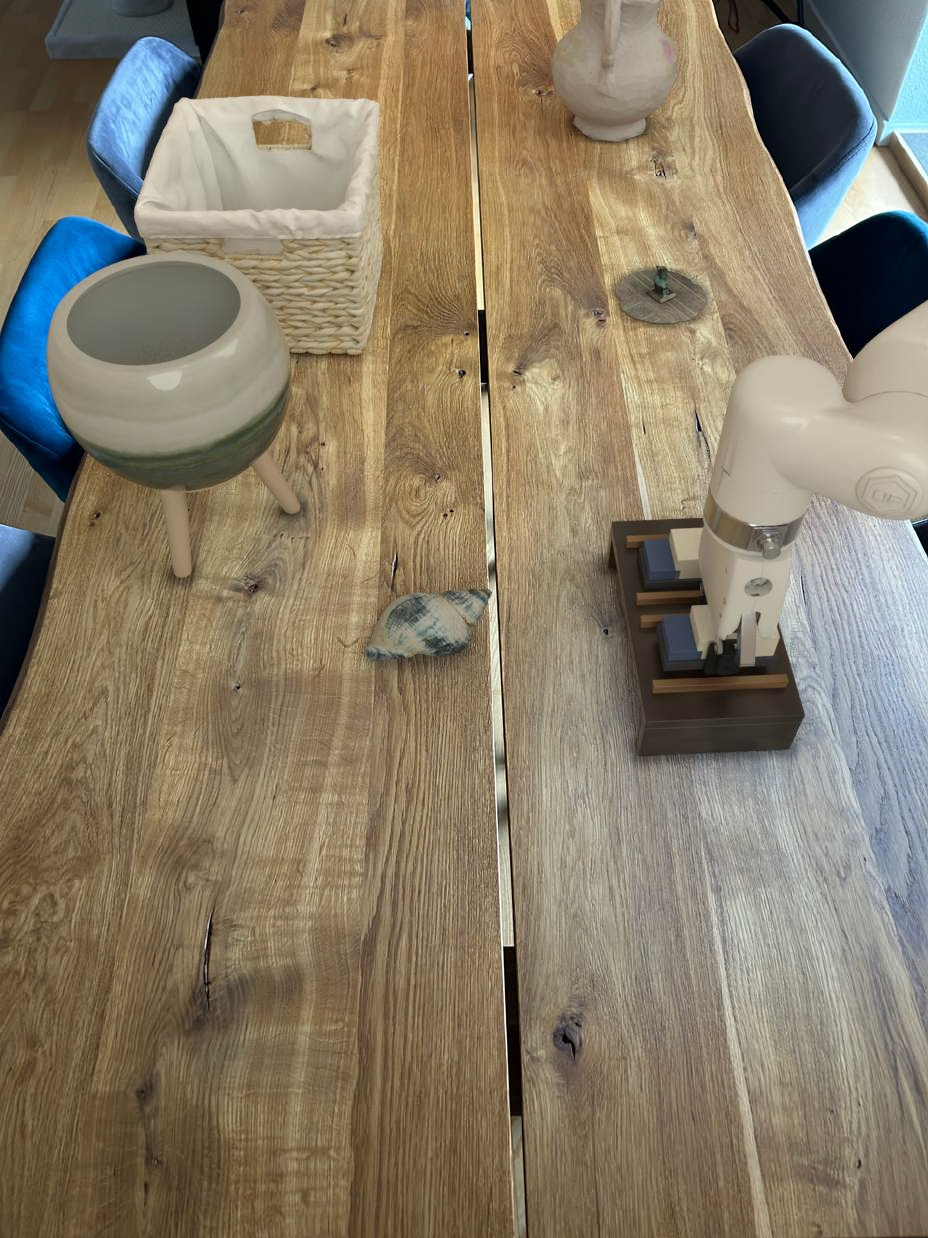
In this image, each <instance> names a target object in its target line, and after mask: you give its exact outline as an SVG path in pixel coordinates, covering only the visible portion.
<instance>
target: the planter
mask: <svg viewBox="0 0 928 1238" xmlns="http://www.w3.org/2000/svg"><path fill="white" fill-rule="evenodd" d="M49 323H50V324H49V328H48V331H47V332H48V333H47V339H46V350H45V351H46V352H45V361H46V363H45V364H46V372H47V373H46V375H47V379H48V384H49V388H50V392H51V396H52V399H53V401H54V404H55V407H56V409H57V411H58V413H59V415H60V418H61V419H62V421H63V423H64V425H65V426H66V429H68V431H69V433H70V434H71V436H72V437H73V438H74V440H75V441H76V443H78V445H79V446H80V447H81V448H82V449H83V450H84V451H85V452H86V453H87V454H88V455H89V456H90V457H92V459H93V460H95V461H96V462H97V463H98V464H100V465H101V466H102V467H103V468H105V469H106V470H108V471H109V472H110V473H113V474H114V475H116V476H118V477H120V478H122V479H124V480H125V481H128V482H129V483H130V482H131V483H133V484H135V485H138V486H141V487H144V488H149V489H152V490H158V491H159V494H160V495H159V496H160V500H161V501H160V502H161V506H162V511H163V517H164V524H165V529H166V535H167V542H168V550H169V554H170V562H171V567H172V571H173V575H175V577H177V578H179V579H184V578H187V577H189V576H190V575H191V573H192V571H193V566H192V564H193V563H192V553H191V551H192V550H191V549H192V548H191V535H190V520H189V508H188V497H187V493H191V494H192V493H199V492H200V493H201V492H205V491H209V490H213V489H216V488H219V487H222V486H224V485H227V484H228V483H230V482H232V481H234V480H235V479H237V478H239V477H240V476H241V475H243V474H244V473H245V472H246V471H247V470H249V468H252V470H253V471H254V472H255V474H256V475H257V477H258V478H259V480H260V481H261V482H262V484H263V485H264V486H265V488H266V489H267V490H268V492H269V493H270V494H271V495H272V496H273V498H274V500H276V501H277V503H278V505H279V506H280V507H281V509H282V510H283V511H284V512H285V513H287V514H289V515H293V514H294V515H295V514H297V513H298V512H299V511H300V510H301V504H300V501H299V500H298V498H297V496H296V494H295V492H294V491H293V489H292V487H291V486H290V484H289V483H288V480H286V478H285V476H284V475H283V473H282V472H281V470H280V468H279V467H278V465H277V463H276V462H275V460H274V458H273V456H272V455H271V453H270V452H269V448H270V447H271V445H272V444H273V443H274V441H275V439H276V438H277V436H278V434H279V433H280V431H281V429H282V426H283V424H284V421H285V419H286V417H287V413H288V410H289V405H290V401H291V394H292V383H293V372H292V371H293V370H292V362H291V361H292V360H291V355H290V352H289V349H288V344H287V341H286V338H285V335H284V332H283V329H282V327H281V324H280V322H279V320H278V318H277V316H276V314H275V312H274V310H273V309H272V307H271V305H270V304H269V302H268V301H267V299H266V298H265V297H264V295H263V294H262V293H261V291H260V290H259V289H258V288H257V287H256V286H255V284H254V283H253V282H252V281H251V280H250V279H249V278H248V277H247V276H245V275H244V274H243V273H242V272H241V271H239V270H238V269H236V268H235V267H233V266H232V265H230V264H228V263H226V262H224V261H221V260H219V259H216V258H212V257H209V256H204V255H199V254H192V253H158V254H150V255H149V254H144V255H139V256H135V257H132V258H130V257H129V258H128V259H127V258H126V259H123V260H120V261H117V262H115V263H111V264H110V265H108V266H105V267H102V268H101V269H99V270H97V271H95V272H93V273H91V274H90V275H88V276H86V277H85V278H83V279H82V280H81V281H79V282H78V283H77V284H75V285H74V286H73V287H71V289H70V290H69V291H68V292H67V293H66V294H65V295H64V296H63V297H62V298H61V300H60V302H58V304H57V306H56V308H55V310H54V311H53V314H52V317H51V320H50V322H49Z"/></svg>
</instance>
